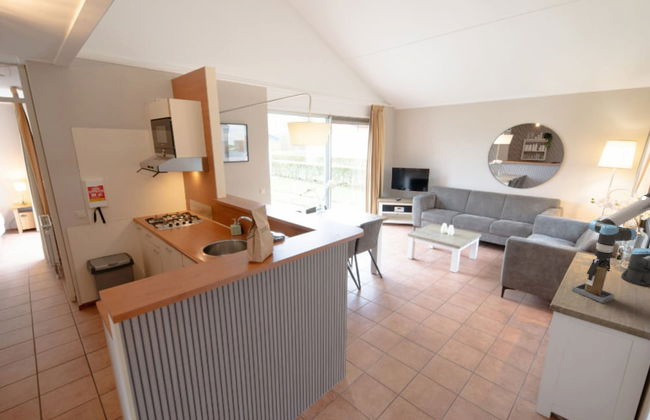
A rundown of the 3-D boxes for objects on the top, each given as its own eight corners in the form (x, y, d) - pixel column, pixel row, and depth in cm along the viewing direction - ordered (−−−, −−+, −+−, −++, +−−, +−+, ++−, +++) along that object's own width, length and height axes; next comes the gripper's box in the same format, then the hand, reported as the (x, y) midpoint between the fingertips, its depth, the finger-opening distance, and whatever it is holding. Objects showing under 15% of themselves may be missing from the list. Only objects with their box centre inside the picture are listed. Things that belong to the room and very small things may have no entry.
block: (598, 299, 177) (606, 269, 171) (582, 294, 183) (589, 265, 177) (602, 292, 183) (610, 263, 178) (587, 288, 189) (594, 259, 184)
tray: (583, 286, 192) (584, 282, 192) (613, 298, 179) (614, 294, 178) (571, 290, 188) (572, 286, 187) (602, 303, 174) (603, 299, 173)
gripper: (607, 245, 184) (599, 275, 189) (584, 251, 174) (576, 283, 179) (623, 249, 177) (614, 281, 182) (600, 256, 167) (591, 289, 173)
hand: (595, 282), depth 181 cm, fingers open, 13 cm apart
